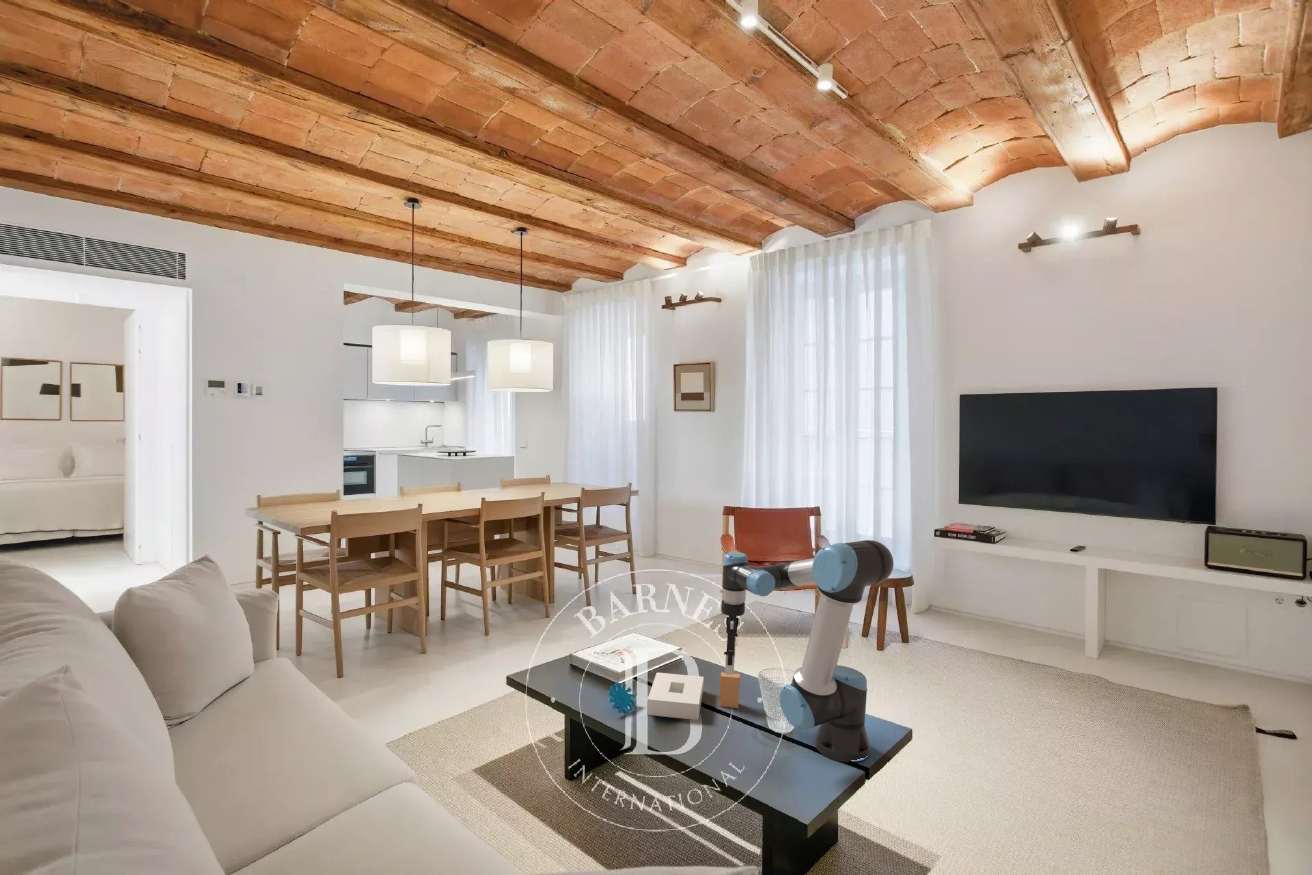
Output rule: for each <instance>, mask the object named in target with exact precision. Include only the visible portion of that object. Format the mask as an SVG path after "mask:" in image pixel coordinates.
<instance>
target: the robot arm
mask: <svg viewBox="0 0 1312 875" xmlns="http://www.w3.org/2000/svg"><path fill="white" fill-rule="evenodd" d="M893 570H894V556H893V555H892V552H891V551H890V549H889V548H888V547H887V546H886V545H885V544H883V543H881V542H879V541H876V540H871V539H867V540H866V539H865V540H858V541H852V542H851V541H849V542H836V543H832V544H831V545H826V546H824V547H822V548H821V549H819V551H817V553H816V554H815V555H814V557H811V558H807V559H802V560H795V561H790V562H789V561H788V562H785V563H778V564H770V565H762V566H754V565H751V564H750V563H749V561H748V556H747V554H746V553H743V552H740V551H731V552H730V551H729V552H726V553H725V554H724V556H723V564H722V584H721V585H722V587H721V588H722V589H719V590H720V591H719V592H720V593H721V599H722V601H721V604H720V606H721V607H720V612H721V613H722V614H723V615H724V616H726V619H725V625H726V626H725V628H726V629H725V632H726V634H727V639H726V651H724V652H723V655H725V668H724V673H725V674H729V675H734V673H735V657H736V644H737V642H736V640H737V638H738V637H739V633H738V627H739V619H740V618H739V617H742V616H743V615H744V614H745V610H746V609H745V608H746V603H745V602H746V598H747V597H746V596H747V591H748V592H750V593H751V594H752V595H754V596H755V595H756V596H760V597H767V596H769V595H770V594H771V593H772V592H773V591H775V590H779V589H780V590H781V589H787V588H795V587H796V588H797V587H800V586H801V587H802V586H808V585H816V589H817V591H818V592H819V594H820V596H819V599H818V603H817V607H816V611H815V615H814V618H813V623H812V626H811V630H810V635H809V638H808V641H807V645H806V650H805V654H804V656H803V657H804V658H803V661H802V664H801V667H798V668H796V669H795V671H794V672H793V676H792V680H791V683H790V684H785V685H784V686H783V687H782V688H781V689H780V691H779V704H780V708H781V710H782V713H783V716H784V717H785V719H786V720H787V721H788V723H790V725H791V726H793V727H794V728H796V729H798V730H805V729H812V728H814V727H818V726H819V727H818V728H817V731H816V733H815V739H814V741H815V742H814V745H815V746H814V747H815V748H816V749H817V751H818V752H819V753H820V754H821V755H823V756H825V757H827V758H828V759H831V760H833V761H837V762H842V763H848V762H849V761H851V760H857V759H860V758H865V757H866V756H868V754H869V752H870V750H871V746H870V740H869V737H868V736H869V735H868V734H867V730H866V727H865V726H866V725H865V724H866V722H865V721H866V713H867V708H866V707H867V694H868V686H867V685H868V684H867V683H868V679H867V678H866V676H865V675H864V673H863V672H862V671H860V670H857V669H854V668H852V667H849V666H845V665H840V664H838V662H839V658H840V655H841V652H842V651H841V650H842V647H843V644H844V640H845V637H846V634H847V629H848V627H849V622H850V619H851V614H852V612H853V607H854V605H856V604H857V605H858V604H859V603H860V602H862V599H863V595H864V592H865V588H866V587H869V586H875V585H878V584H881V583H883V582H885V581H886V580H887V579H888V578H889V577H890V575H891V574H892V572H893ZM869 755H870V754H869Z"/></svg>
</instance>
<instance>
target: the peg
mask: <svg viewBox="0 0 1312 875" xmlns="http://www.w3.org/2000/svg"><path fill="white" fill-rule="evenodd" d="M740 674H741V673H735V672H734V675H729V674H725V671H721V672H720V685H719V687H720V688H719V689H720V690H719V707H724V708H735V709H739V698H740V676H741V675H740Z"/></svg>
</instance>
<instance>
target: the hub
mask: <svg viewBox="0 0 1312 875" xmlns="http://www.w3.org/2000/svg"><path fill="white" fill-rule="evenodd" d="M704 678H705V676H700V675H699V676H698V675H689V674H688V675H686V674H679V673H677V674H676V673H668V672H667V673H666V672H656V674H655V676H654V680H653V682H652V686H651V689H650V692H649V694H648V697H647V703H646V704H647V705H646V706H647V708H646V710H647V711H646V715H647V716H655V717H656V716H657V717H667V718H673V719H685V720H693V721H699V718H700V713H701V706H702V700H703V693H704V681H705V680H704Z"/></svg>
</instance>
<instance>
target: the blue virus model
mask: <svg viewBox="0 0 1312 875" xmlns="http://www.w3.org/2000/svg"><path fill="white" fill-rule="evenodd" d="M620 685H621V686H620ZM626 686H627V684H625V683H624V682H622V683H620V682H615V684H614V685H613V684H612V685H611V686H610V687H609V691H608V692H607V695H608V696H610V697H609V698H608V703H610V704H611V703H612V706H611V708H612V709H613V710H616V709H617V708H618V707H620V708H619V709H618V710H617V713H619V714H620V715H621V714H622V713H624V714H625V715H629V713H630V712H633V711H634V710H635V708H634V706H635V705H637V702H636V700H634V699H635V698H636V696H637V695H638V693H637V692H636V691H634V693H631V692H632V688H631V686H630V687H627V688H626ZM619 687H620V688H619ZM625 688H626V689H625ZM624 709H625V710H624Z"/></svg>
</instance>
